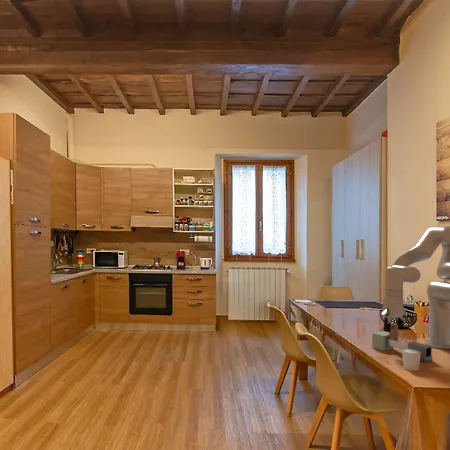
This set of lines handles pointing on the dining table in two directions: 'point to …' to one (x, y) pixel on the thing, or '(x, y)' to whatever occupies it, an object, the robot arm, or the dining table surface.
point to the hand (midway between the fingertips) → (393, 330)
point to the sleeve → (422, 351)
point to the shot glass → (411, 359)
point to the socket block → (380, 341)
